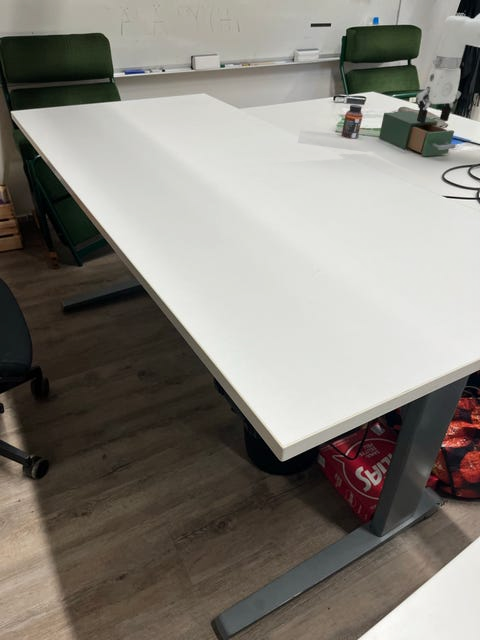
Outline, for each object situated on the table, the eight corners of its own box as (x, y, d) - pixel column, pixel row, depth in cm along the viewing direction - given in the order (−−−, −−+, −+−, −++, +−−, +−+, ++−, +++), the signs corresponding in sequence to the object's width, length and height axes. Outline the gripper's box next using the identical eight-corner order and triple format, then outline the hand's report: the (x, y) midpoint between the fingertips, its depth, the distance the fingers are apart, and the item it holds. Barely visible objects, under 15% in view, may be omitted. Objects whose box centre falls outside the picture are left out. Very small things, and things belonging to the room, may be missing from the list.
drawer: (457, 157, 158) (464, 134, 154) (432, 160, 155) (438, 137, 151) (421, 142, 171) (426, 120, 167) (397, 144, 168) (402, 122, 164)
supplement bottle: (357, 142, 171) (365, 108, 165) (340, 139, 172) (347, 106, 165) (356, 138, 176) (364, 105, 170) (340, 136, 176) (347, 103, 170)
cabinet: (430, 148, 169) (437, 121, 163) (404, 151, 165) (410, 123, 160) (404, 136, 179) (410, 111, 174) (378, 139, 176) (383, 112, 170)
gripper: (433, 66, 142) (418, 125, 153) (477, 64, 148) (460, 122, 158) (417, 61, 148) (403, 120, 158) (459, 60, 154) (444, 116, 164)
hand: (432, 121), depth 158 cm, fingers open, 9 cm apart
